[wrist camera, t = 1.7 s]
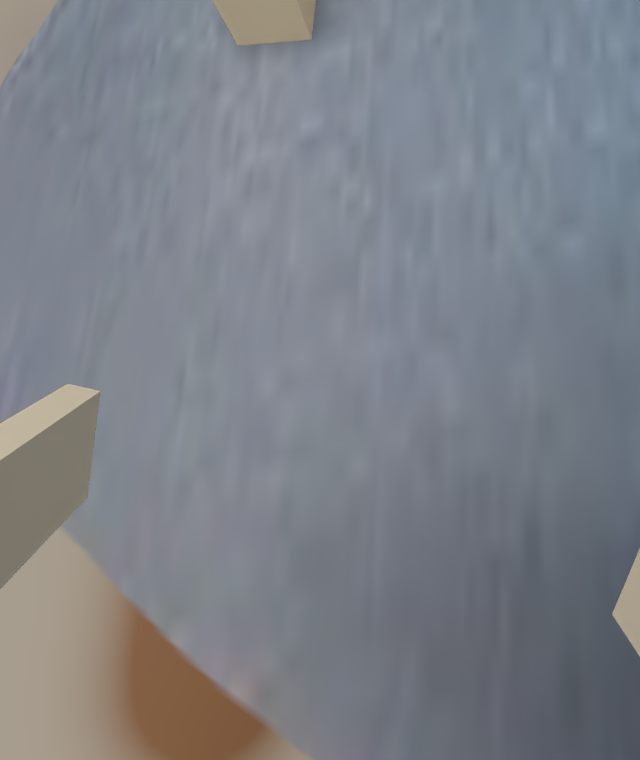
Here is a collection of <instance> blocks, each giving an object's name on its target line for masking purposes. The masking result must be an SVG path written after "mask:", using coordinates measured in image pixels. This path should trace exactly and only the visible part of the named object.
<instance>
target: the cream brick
mask: <svg viewBox="0 0 640 760" xmlns="http://www.w3.org/2000/svg"><path fill="white" fill-rule="evenodd" d="M213 2H214V4H215V6H216V8H217V9H218V11H219V13H220V15H221V16H222V18H223V20H224V22H225V24H226V25H227V27H228V29H229V31H230V32H231V34H232V36H233V38H234V40H235V41H236V43H237V45H238V46H241V45H253V44H266V43H278V42H290V41H302V40H312V32H313V22H314V13H315V4H316V0H213Z"/></svg>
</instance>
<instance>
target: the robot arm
mask: <svg viewBox="0 0 640 760" xmlns="http://www.w3.org/2000/svg"><path fill="white" fill-rule="evenodd" d="M99 397H100V391H97V390H93V389H88V388H84V387H79V386H75V385H71V384H67V385H65V386H63V387H62V388H60V389H58V390H56V391H55V392H53V393H51V394H50V395H48V396H46V397H44V398H43V399H41V400H39V401H38V402H36V403H34V404H33V405H31V406H29V407H27V408H26V409H24V410H22V411H21V412H19V413H17V414H15V415H14V416H12V417H10V418H9V419H7V420H5V421H4V422H2V423H0V589H1V588H2V587H3V586H4V585H5V584H6V583H7V582H8V580H9V579H10V578H11V577H12V576H13V575H14V574H15V573H16V572H17V571H18V570H19V569H20V568H21V567H22V566H23V565H24V563H26V561H27V560H28V559H29V558H30V557H31V556H32V555H33V554H34V553H35V552H36V551H37V550H38V549H39V548H40V547H41V546H42V545H43V543H44V542H45V541H46V540H47V539H48V538H49V537H50V536H51V535H52V534H53V533H54V532H55V531H56V530H57V529H58V528H59V527H60V526H61V524H62V523H63V522H64V521H65V520H66V519H67V518H68V517H69V516H70V515H71V514H72V513H73V512H74V511H75V510H76V509H77V508H78V506H79V505H80V504H81V503H82V502H83V501H84V500H85V499H86V498H87V496H88V488H89V480H90V471H91V463H92V455H93V447H94V439H95V430H96V422H97V414H98V406H99ZM612 615H613V617H614V618H615V620H616V621H617V623H618V624H619V626H620V627H621V629H622V630H623V632H624V633H625V635H626V636H627V638H628V639H629V641H630V642H631V644H632V646H633V647H634V649H635V650H636V652H637V653H638V655H639V656H640V549H639V551H638V554H637V556H636V558H635V561H634V563H633V566H632V568H631V570H630V573H629V575H628V578H627V580H626V582H625V585H624V587H623V590H622V592H621V594H620V597H619V599H618V602H617V604H616V606H615V609H614V611H613V613H612Z"/></svg>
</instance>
